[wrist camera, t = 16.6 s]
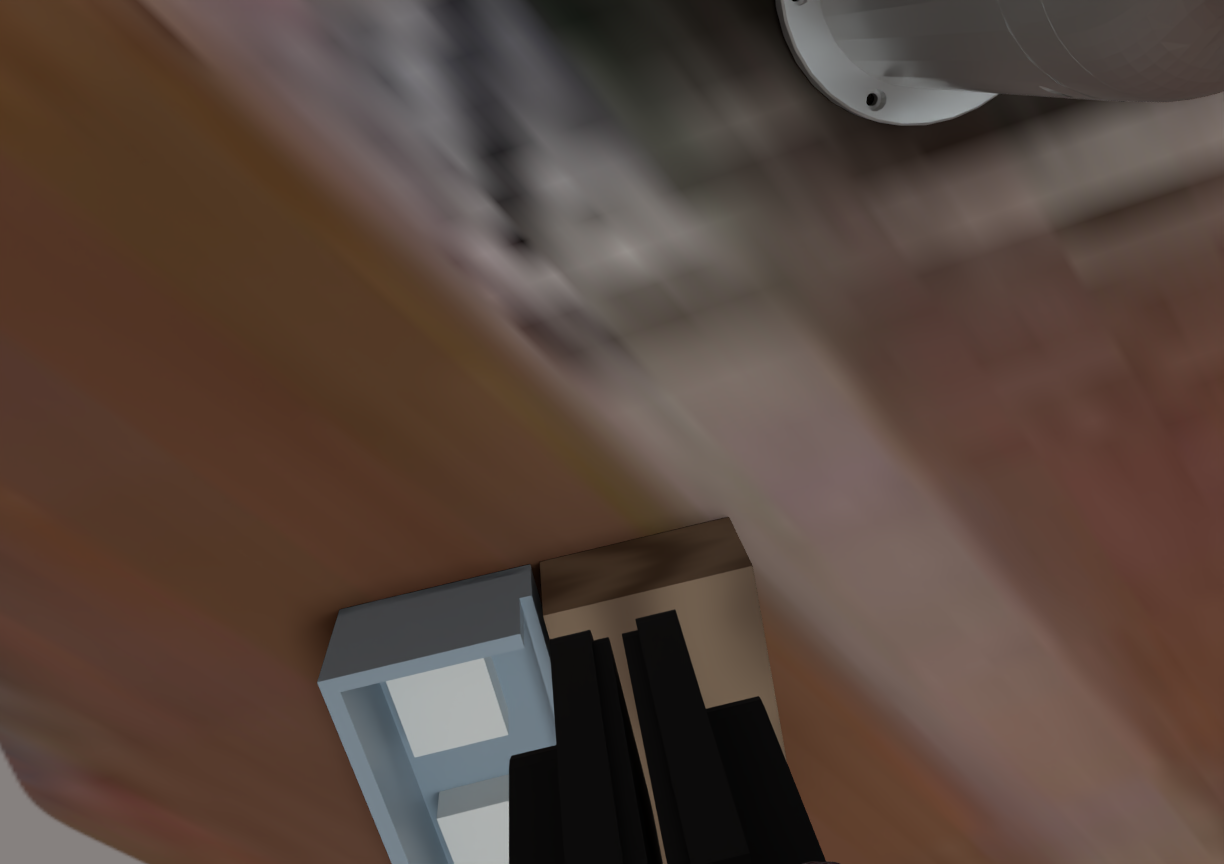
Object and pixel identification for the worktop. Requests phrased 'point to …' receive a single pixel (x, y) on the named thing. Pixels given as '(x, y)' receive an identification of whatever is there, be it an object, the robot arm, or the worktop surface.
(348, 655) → the box
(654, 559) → the tan slab
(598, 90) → the worktop surface
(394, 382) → the worktop surface
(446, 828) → the tile
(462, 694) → the tile
